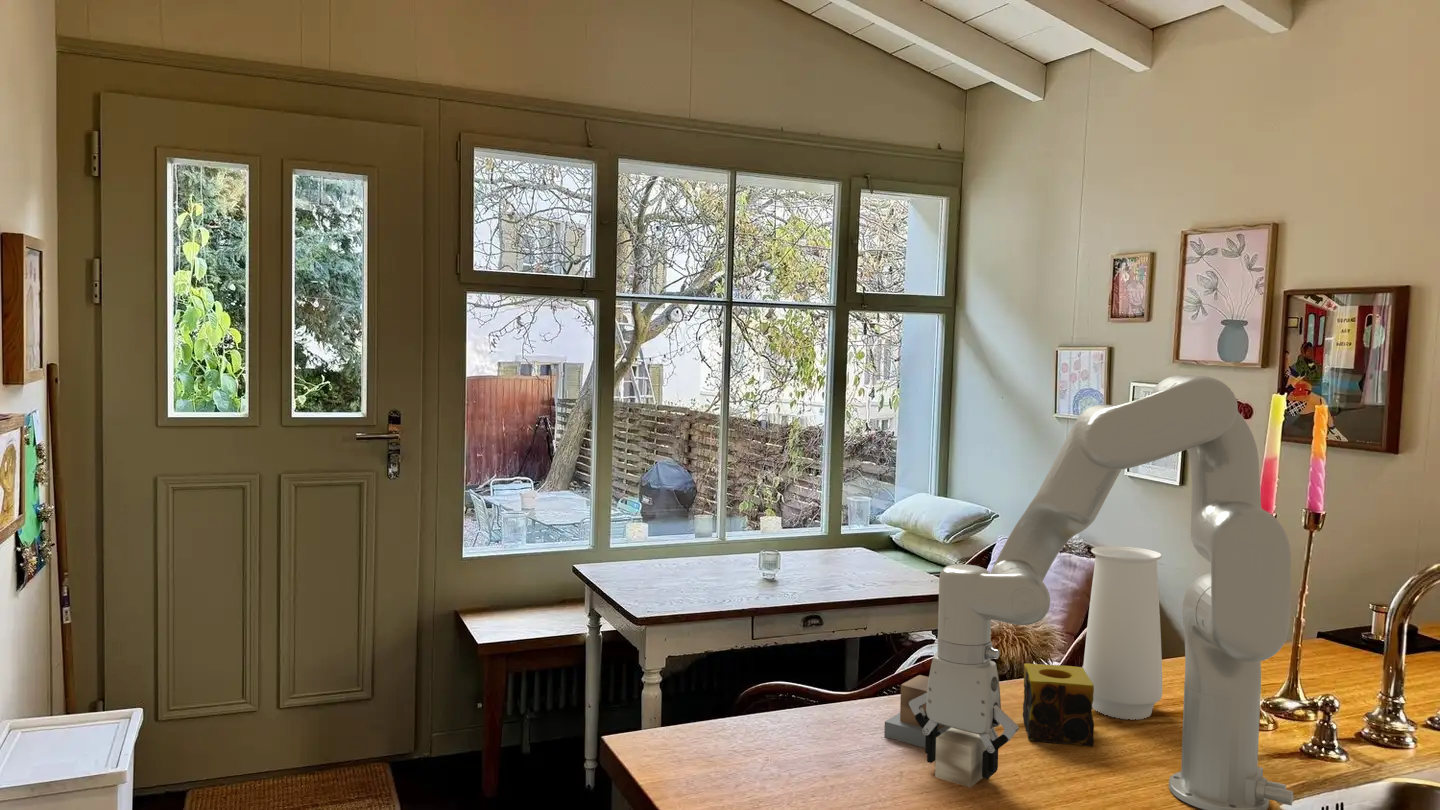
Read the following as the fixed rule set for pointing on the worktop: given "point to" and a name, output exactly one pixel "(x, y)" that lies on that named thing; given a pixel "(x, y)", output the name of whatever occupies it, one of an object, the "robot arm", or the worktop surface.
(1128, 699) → the vase
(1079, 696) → the yellow holed cube
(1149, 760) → the worktop surface
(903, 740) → the slate slab
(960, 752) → the maple block
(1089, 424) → the robot arm
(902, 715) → the walnut block
